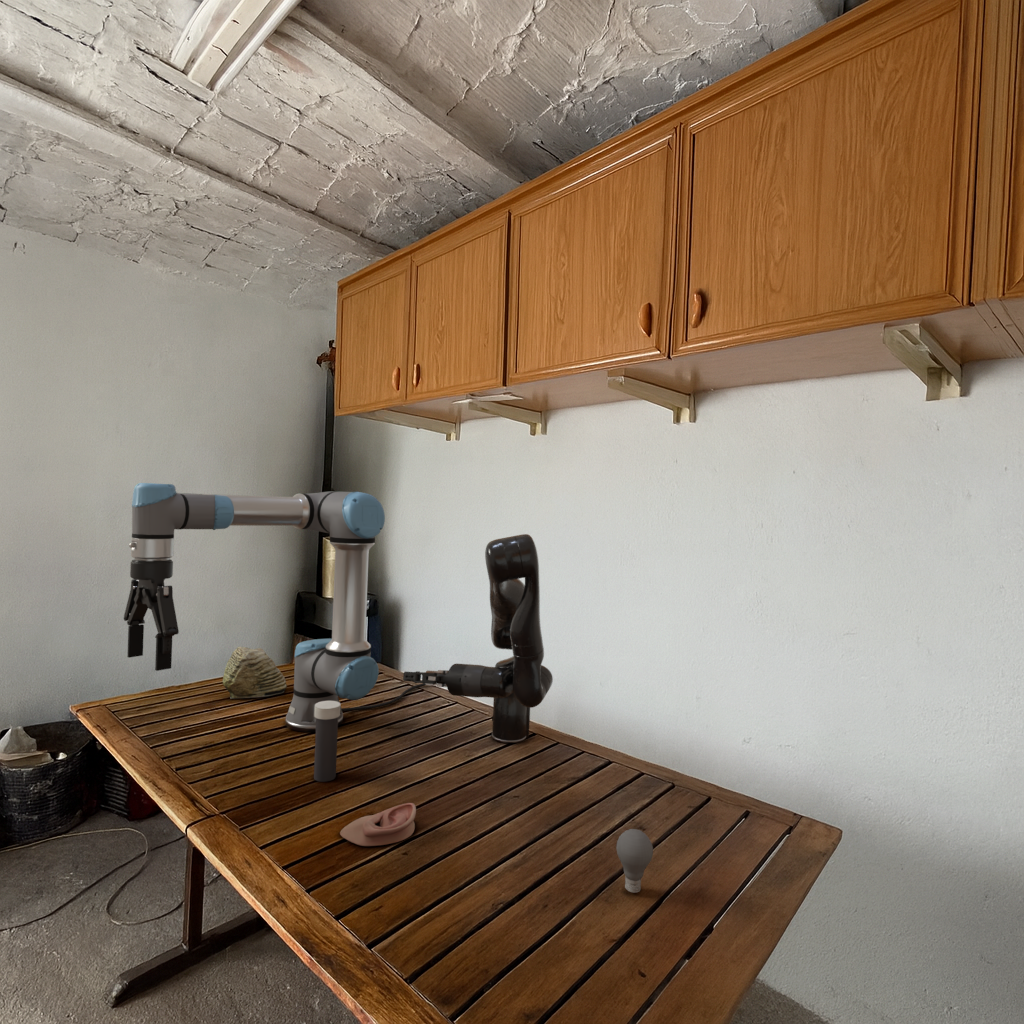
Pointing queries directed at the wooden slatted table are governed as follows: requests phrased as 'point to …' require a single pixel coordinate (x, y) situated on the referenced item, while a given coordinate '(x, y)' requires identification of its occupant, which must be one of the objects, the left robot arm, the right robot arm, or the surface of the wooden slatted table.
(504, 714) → the right robot arm
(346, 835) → the anatomical model
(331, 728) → the gray bottle
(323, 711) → the lid
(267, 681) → the fossil
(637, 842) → the light bulb
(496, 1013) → the wooden slatted table surface
